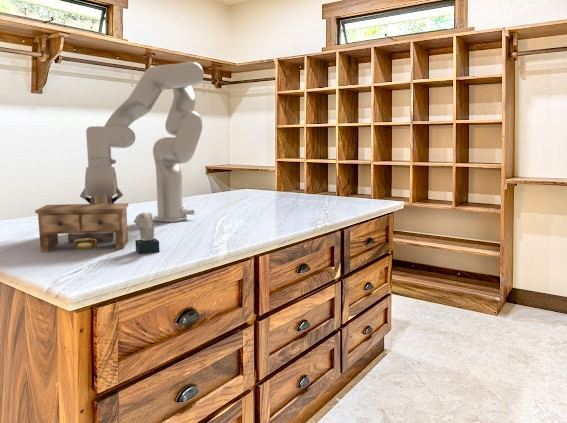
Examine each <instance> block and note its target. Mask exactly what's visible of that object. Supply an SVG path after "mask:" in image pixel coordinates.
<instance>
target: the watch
mask: <svg viewBox="0 0 567 423" xmlns="http://www.w3.org/2000/svg"><path fill="white" fill-rule="evenodd" d="M133 223H134V224H135V225H136V227H137V230H138V231H139V235H140V238H141V239H135V241H134V244H135V252H136V253H137V254H138V255H143V254H145V255H146V254H153V253H160V240H158V239H157V238H154V237H155V227H154V217H153V215H152V212H141V213H139V214H138V215H136V217H135V219H134V220H133Z"/></svg>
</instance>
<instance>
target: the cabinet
mask: <svg viewBox="0 0 567 423" xmlns="http://www.w3.org/2000/svg"><path fill="white" fill-rule="evenodd" d="M128 207H129V203H128V202H127V203H126V202H121V203H120V202H119V203H116V202H114V203H113V204H90V203H82V204H81V203H80V204H79V203H75V204H74V203H73V204H71V203H70V204H68V203H67V204H46V205H44V206H41V207H39V208H38V209H35V210H34V214H37V217H38V218H37V220H38V231H39V246H40V253H49V252H50V251H51V250H52V249H54V248H55V247H57V246H58V245H59V235H62V234H63V235H68V234H70V233H103V232H114V233H115V234H114V239H115V250H124V249H125V247H126V246H127V244H128V243H129V235H128V234H129V232H128V215H127V214H128V213H127V212H128V211H127V208H128Z"/></svg>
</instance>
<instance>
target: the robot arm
mask: <svg viewBox="0 0 567 423" xmlns="http://www.w3.org/2000/svg"><path fill="white" fill-rule="evenodd" d="M204 73H205V72H204V69H203V67H202V66H201V64H199V63H198V62H195V61H186V62H178V63H170V64H167V63H166V64H160V65H155V66H150V67H149V68H147V69H146V70H145V71H144V72H143V74H142V76H141V77H140V79H139V80H138V82H137V84H136V86H135V87H134V89H133V90H132V91H131V93H130V95H129V96H128V98H126V100H125V101H123V102H122V104H121V105H120V106H118V107H117V108H116V109H115V110H114V112H112V114H111V115H110V116H109V118H108V120H107V122H106V123H105V124H104V125H103V126H102V125H100V126H98V125H97V126H96V125H95V126H92V125H91V126H88V127H87V128H86V132H85V135H86V150H87V151H86V153H87V166H86V169H85V177H84V188H83V189H82V192H81V193H80V194H79V197H80V198H82V199H83V200H85V201H86V202H87V203H88V204H95V198H94V196H103V195H107V198H108V202H109V203H108V204H115V203H116V201H117V200H119V199H120V198H122V197H123V196H124V194H123V192H122V191H121V190H120V189H119V188H118V181H117V173H116V168H115V166H113V165H114V164H117V160H116V159H113V158H112V148H117V149H118V148H119V149H126V148H129V147H131V146H132V145H134V144H135V141H136V134H135V132H134V130H133V129H131V128H130V126H131V125H132V124H133V123H135V121H137V120H138V119H141V118H142V117H144V116H146V115H147V114H148V113H150V112H151V110H152V109H153V107H154V105H155V104H156V102H157V101H158V99H159V97H160V96H161V93H163V91H164V90H171V89H172V91H173V92H172V93H173V99H172V103H171V106H170V108H169V112H168V115H167V117H166V120H165V125H164V127H165V130H166V132H167V133H168V134H169V135H171V136H173V137H171V136H170V137H169V136H168V137H165V136H164V137H161V138H158V140H156V141H155V142H154V145H153V148H152V155H153V160H154V164H155V175H156V199H157V202H156V204H157V215H155V216H154V217H153V221H155V222H159V223H161V222H162V223H175V222H176V223H177V222H183V221H186V220H187V219H188V215H189V216H194V215H195V209H186V208H184V206H183V204H184V203H183V176H182V175H183V173H182V169H181V166H180V164H186V163H188V162H190V161H191V160H192V158H193V157H194V155H195V153H196V151H197V150H196V149H197V147H198V143H199V141H200V137H201V135H202V132H203V131H202V130H203V120H202V118H201V116H200V114H199V113H198V112H197V111H195V107H196V103H197V98H196V95H195V91H194V89H193V86H197V85H199V84H201V82H203V79H204V75H205V74H204ZM113 196H114V197H113Z"/></svg>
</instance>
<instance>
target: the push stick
mask: <svg viewBox="0 0 567 423" xmlns="http://www.w3.org/2000/svg"><path fill="white" fill-rule="evenodd" d="M94 198H95V204H108V203H109V202H108V198H107V195H103V196H94ZM114 233H115V232H103V233H70V234H67V240H68V243H69V244H70V243H71V244H72V243H74V240H76V239H81V238H95V239H97V243H98V242H102V243H103V242H115V234H114Z"/></svg>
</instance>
